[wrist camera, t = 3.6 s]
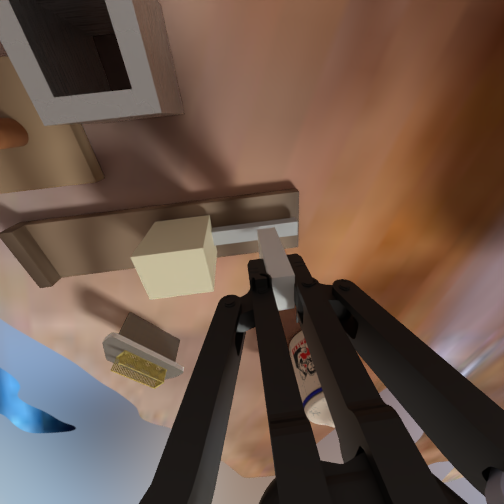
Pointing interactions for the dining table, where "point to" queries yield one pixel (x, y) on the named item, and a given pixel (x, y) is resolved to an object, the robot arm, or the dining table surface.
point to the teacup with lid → (309, 382)
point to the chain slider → (191, 253)
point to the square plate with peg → (38, 143)
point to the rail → (133, 233)
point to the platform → (143, 351)
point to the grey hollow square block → (90, 59)
